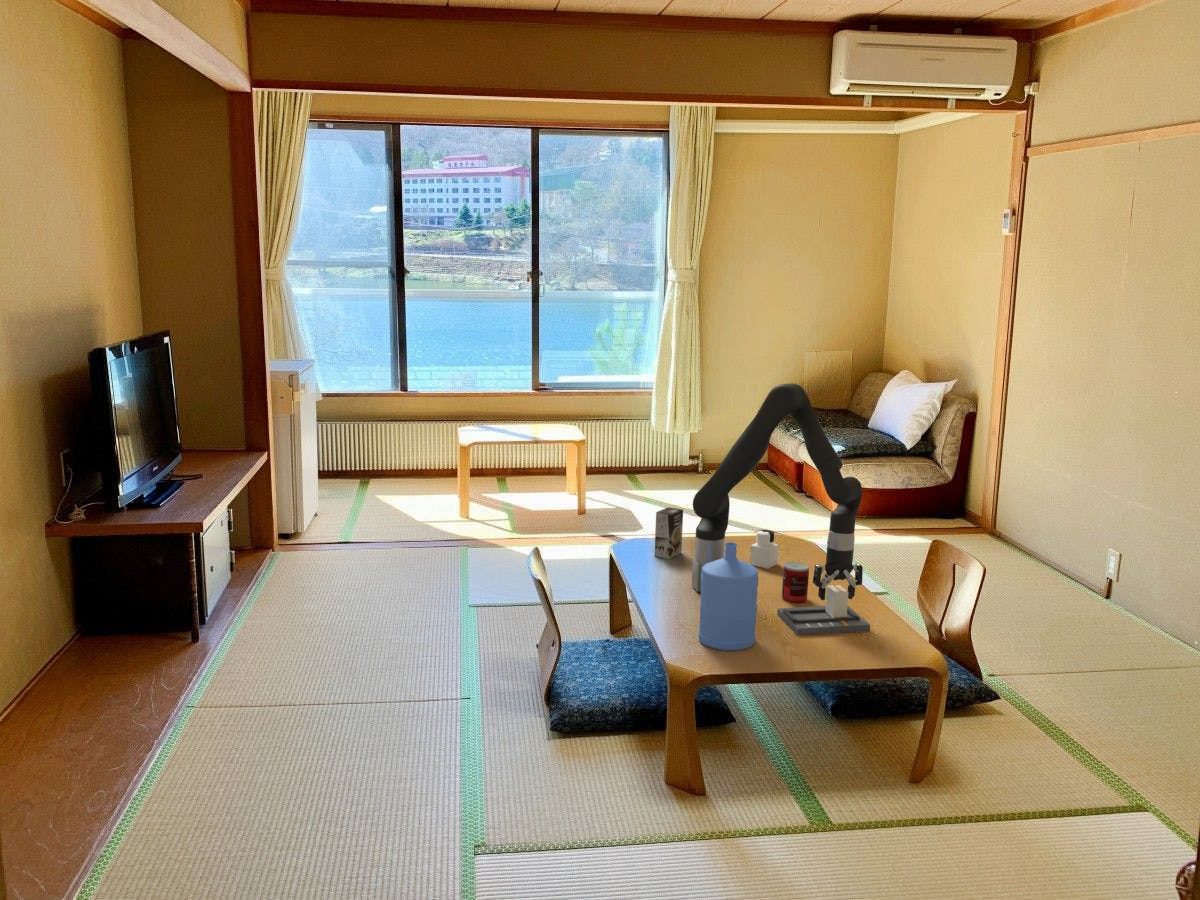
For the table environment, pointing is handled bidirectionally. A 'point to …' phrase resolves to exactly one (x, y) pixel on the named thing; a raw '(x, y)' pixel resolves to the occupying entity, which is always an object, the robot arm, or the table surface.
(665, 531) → the coffee box
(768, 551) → the medicine bottle
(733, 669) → the table surface
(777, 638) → the table surface
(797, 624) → the console
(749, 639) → the water jug
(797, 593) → the canned food
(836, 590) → the block
